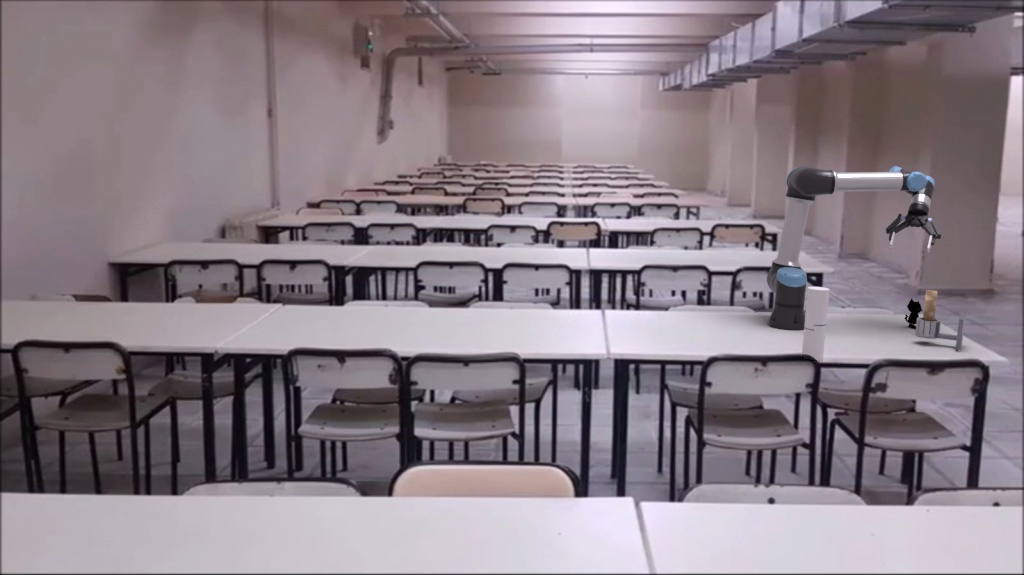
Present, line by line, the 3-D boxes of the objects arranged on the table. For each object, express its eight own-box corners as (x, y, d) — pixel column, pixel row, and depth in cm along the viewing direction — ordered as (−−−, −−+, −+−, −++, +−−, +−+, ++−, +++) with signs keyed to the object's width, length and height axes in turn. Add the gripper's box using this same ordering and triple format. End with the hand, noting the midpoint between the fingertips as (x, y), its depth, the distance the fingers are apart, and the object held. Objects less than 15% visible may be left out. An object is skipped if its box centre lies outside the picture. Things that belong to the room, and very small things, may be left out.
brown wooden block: (921, 332, 344) (925, 291, 342) (922, 330, 348) (926, 289, 345) (932, 333, 343) (937, 292, 340) (933, 331, 346) (938, 290, 343)
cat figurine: (924, 329, 371) (927, 301, 369) (908, 329, 371) (911, 300, 369) (915, 326, 378) (918, 297, 376) (899, 325, 378) (902, 297, 376)
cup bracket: (912, 345, 343) (916, 314, 341) (916, 339, 353) (919, 309, 351) (959, 351, 335) (963, 319, 333) (961, 345, 345) (965, 314, 343)
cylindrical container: (824, 361, 313) (830, 290, 309) (802, 360, 315) (809, 289, 310) (821, 356, 320) (827, 287, 316) (800, 355, 322) (806, 286, 317)
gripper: (952, 217, 362) (944, 258, 352) (886, 211, 374) (876, 250, 364) (953, 204, 357) (944, 245, 347) (886, 199, 369) (875, 238, 359)
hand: (909, 248), depth 355 cm, fingers open, 13 cm apart
